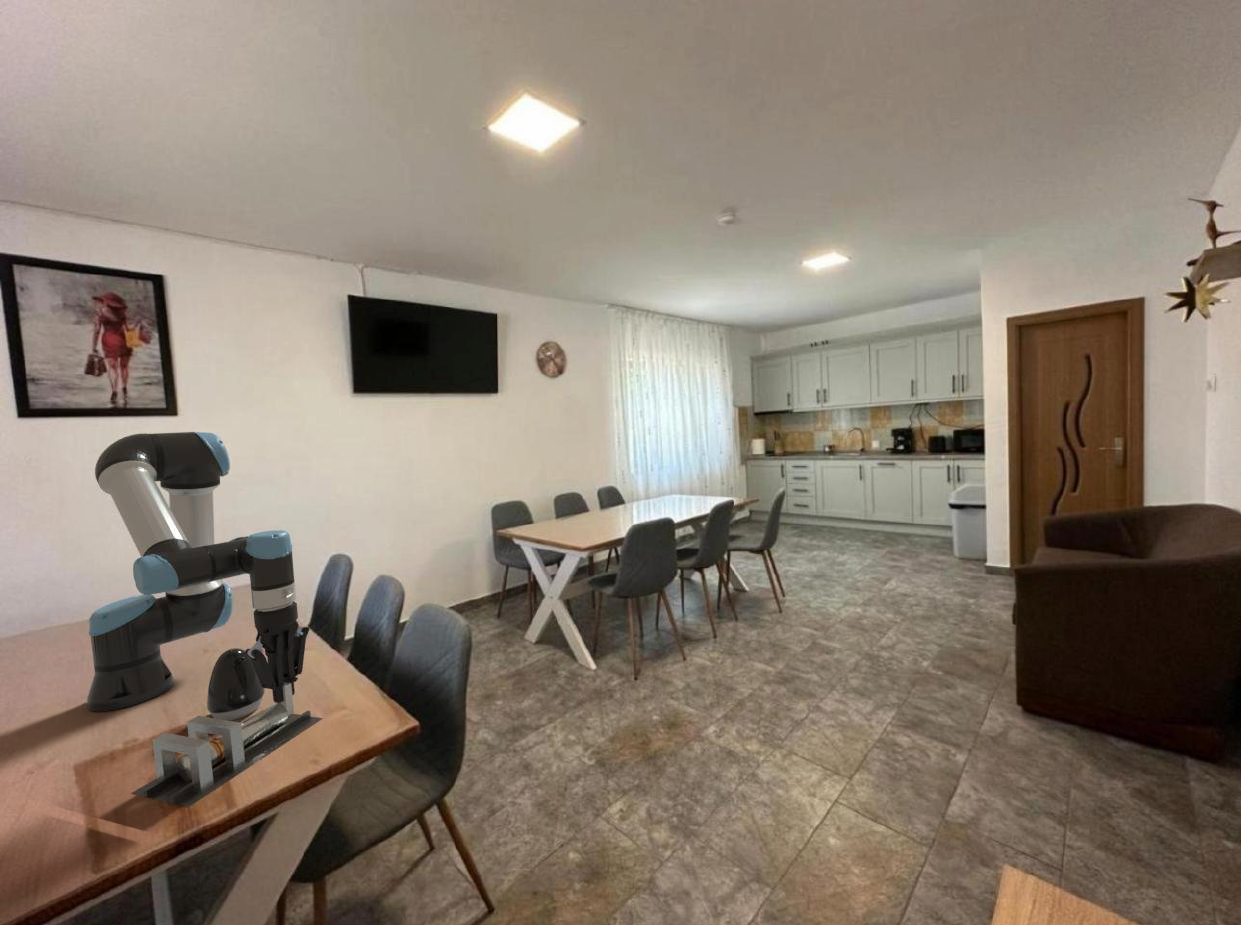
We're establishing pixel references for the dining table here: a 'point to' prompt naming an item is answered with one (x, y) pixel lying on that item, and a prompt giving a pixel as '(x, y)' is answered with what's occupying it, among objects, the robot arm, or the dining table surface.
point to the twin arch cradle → (198, 749)
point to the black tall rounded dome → (233, 686)
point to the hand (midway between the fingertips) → (285, 713)
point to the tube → (250, 733)
